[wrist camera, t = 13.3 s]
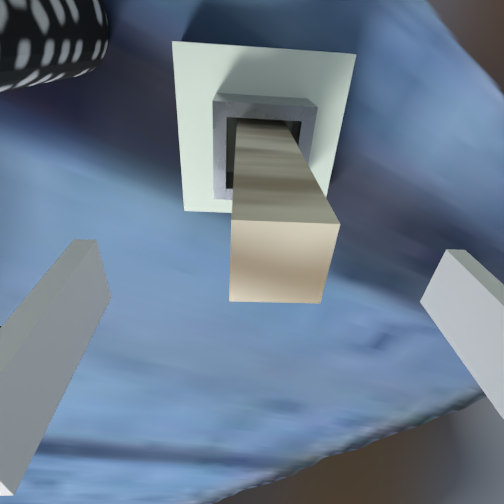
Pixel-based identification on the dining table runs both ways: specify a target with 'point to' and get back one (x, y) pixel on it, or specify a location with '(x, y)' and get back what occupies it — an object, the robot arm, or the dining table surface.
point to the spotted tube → (50, 40)
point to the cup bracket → (256, 108)
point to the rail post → (277, 219)
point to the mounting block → (252, 83)
